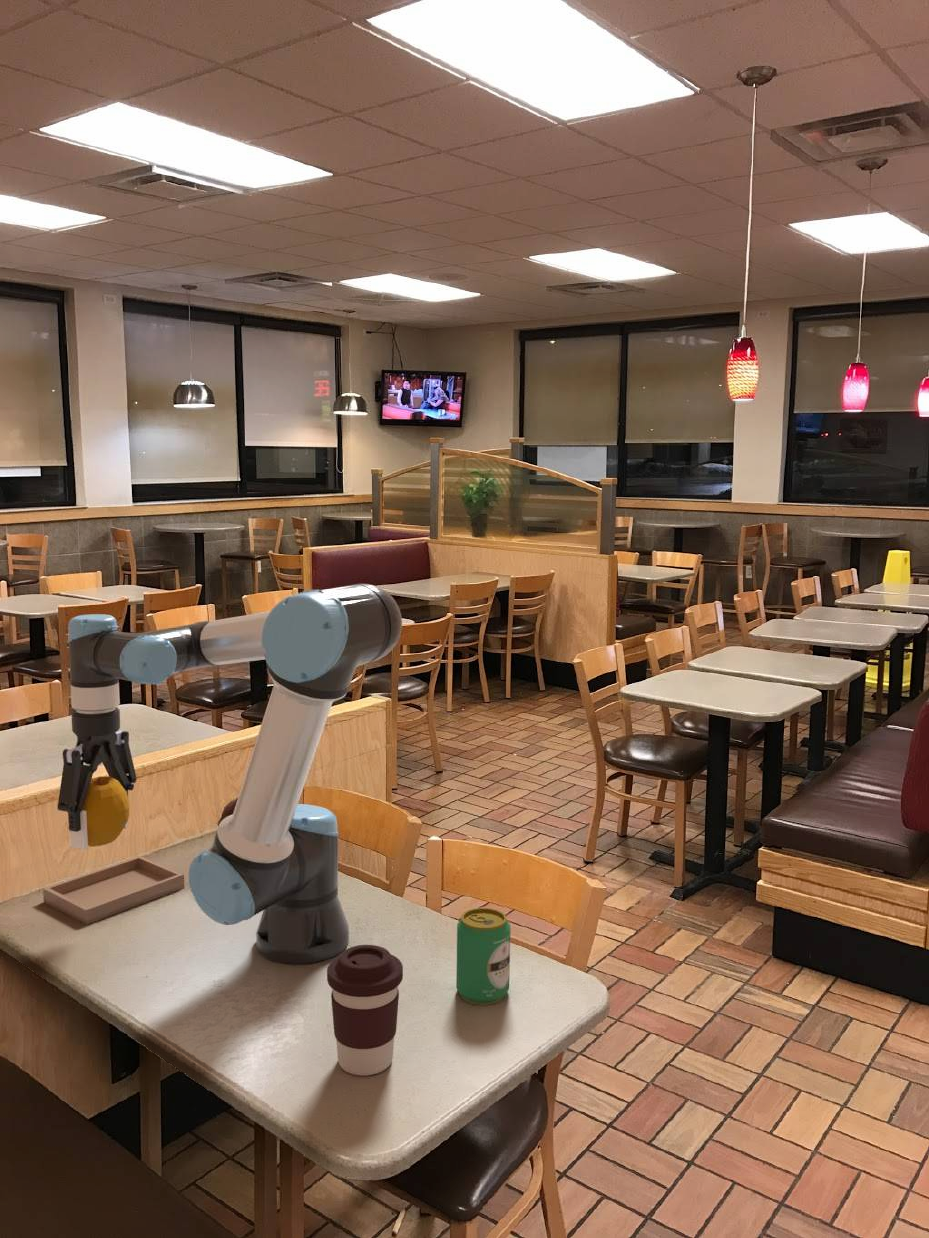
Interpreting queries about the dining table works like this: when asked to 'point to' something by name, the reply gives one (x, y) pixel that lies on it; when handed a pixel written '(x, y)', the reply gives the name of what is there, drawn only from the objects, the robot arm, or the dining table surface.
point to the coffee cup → (365, 1007)
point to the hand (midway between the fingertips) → (100, 837)
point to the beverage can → (483, 956)
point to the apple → (105, 810)
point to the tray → (113, 889)
